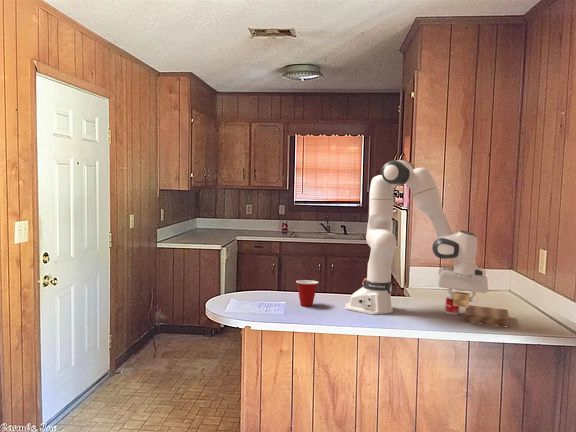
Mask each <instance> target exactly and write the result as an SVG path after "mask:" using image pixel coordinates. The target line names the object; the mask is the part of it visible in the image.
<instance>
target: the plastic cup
mask: <svg viewBox="0 0 576 432" xmlns="http://www.w3.org/2000/svg"><path fill="white" fill-rule="evenodd" d="M295 282H296V284H297V290H298V297H299V303H300V304H299V305H300V306H301V307H307V308H308V307H313V304H314V299H315V296H316V291H317V287H318V284H319V281H316V280H312V279H311V280H308V279H306V280H305V279H302V280H301V279H300V280H298V279H297V280H296V281H295Z"/></svg>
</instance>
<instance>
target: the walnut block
mask: <svg viewBox="0 0 576 432" xmlns="http://www.w3.org/2000/svg"><path fill="white" fill-rule="evenodd" d="M468 322H474V323H473V324H475V323H482V324H481V325H483V324H488V325H487V326H491V325H498V326H507V327H509V328H510V315H509V311H508V309H505V308H497V307H487V306H478V305H470V304H469V305H468V308H466V307H465V311H464V323H468ZM498 326H497V327H498Z"/></svg>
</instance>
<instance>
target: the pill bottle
mask: <svg viewBox="0 0 576 432" xmlns="http://www.w3.org/2000/svg"><path fill="white" fill-rule="evenodd" d="M455 291H456V292H460V290H457V289H452V291H451V292H452V294H453V295H454V293H455ZM453 303H454V299H451V295H450V293H449V289H448V290H447V294H446V296H445V307H444V308H445V310H444V311H445V312H444V313H445V314H447V315H449V314H450V316H458V315H460V307H459V306H453Z"/></svg>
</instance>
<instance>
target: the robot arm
mask: <svg viewBox="0 0 576 432" xmlns="http://www.w3.org/2000/svg"><path fill="white" fill-rule="evenodd" d="M403 185H407V186H408V187H409V190H410V192H411V195H412V198H413V200H414V203H415V204H416V206H417V208H418V209H419V210H420V212H422V213H423V214H425V215H426V217H428V218H429V219H430V221H431V223H432V225H433V228H434V230H435V233H436V236H437V239H436V240H434V242H433V243H432V247H431V248H432V252H433V254H434V255H435V257H436V258H439V259H441V260H448V259H453V266H445V265H444V266H442V267H440V268H438V275H439V278H438V283H437V285H438V288H442V289H443V288H444V289H448V290H449V293H450V295H451V299H454V295H453V294H452V292H451V291H452V289H454V290H458V291H465V292H471V293H472V294H471V296H469V303H473V300H474V298H475V296H476V294H477V293H480V294H487V292H488V291H489V290H488V289H489V285H488V284H489V282H488V278H487V276H486V275H487V271H486V269H485V268H482V267H480V266H477V261H476V256H477V253H478V237H477V236H476V234H475V233H474V232H470V231H467V230H458V231H457V232H455V233H453V232H452V230H451V228H450V225H449V223H448V220H447V218H446V215H445V213H444V210H443V208H444V207H443V205H442V201H441V200H442V199H441V195H440V192H439V189H438V187H437V184H436V182H435V180H434V177H433V175H432V174H431V172H430V171H429V169H428V168H426V167H416V168H415V167H414V164H412V163H411V162H410V161H408V160H402V159H397V160H390V161H388V162H386V163H385V164H384V165H383V166H382V168H381V174H378V175H375V176H374V177H373V178H372V179H371V182H370V185H369V192H368V193H369V194H368V196H369V199H368V200H369V201H368V221H367V226H366V234H365V235H366V236H365V239H366V240H365V241H366V244H367V245H368V246H369V248H370V254H369V259H368V262H367V272H366V273H367V275H366V278H363V280H362V284H361V285H362V287H360V288H359V289H358V290H356V291H355V292H353V293H352V294H351V296H350V299H349V302H347V303H345V305H344V309H345V310H348V311H353V312H358V313H363V314H367V315H368V314H369V315H382V314H384V315H385V314H389V313H392V312H394V309H393V305H392V299H391V297H392V296H391V293H392V290H393V289H392V287H393V285H392V280H391V279H392V263H393V259H394V256H395V250H396V248H397V239H396V236H395V234H394V233H393V232H392V231H391V224H392V221H393V217H394V190H395V188H396V187H398V186H403ZM449 293H448V294H449Z"/></svg>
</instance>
